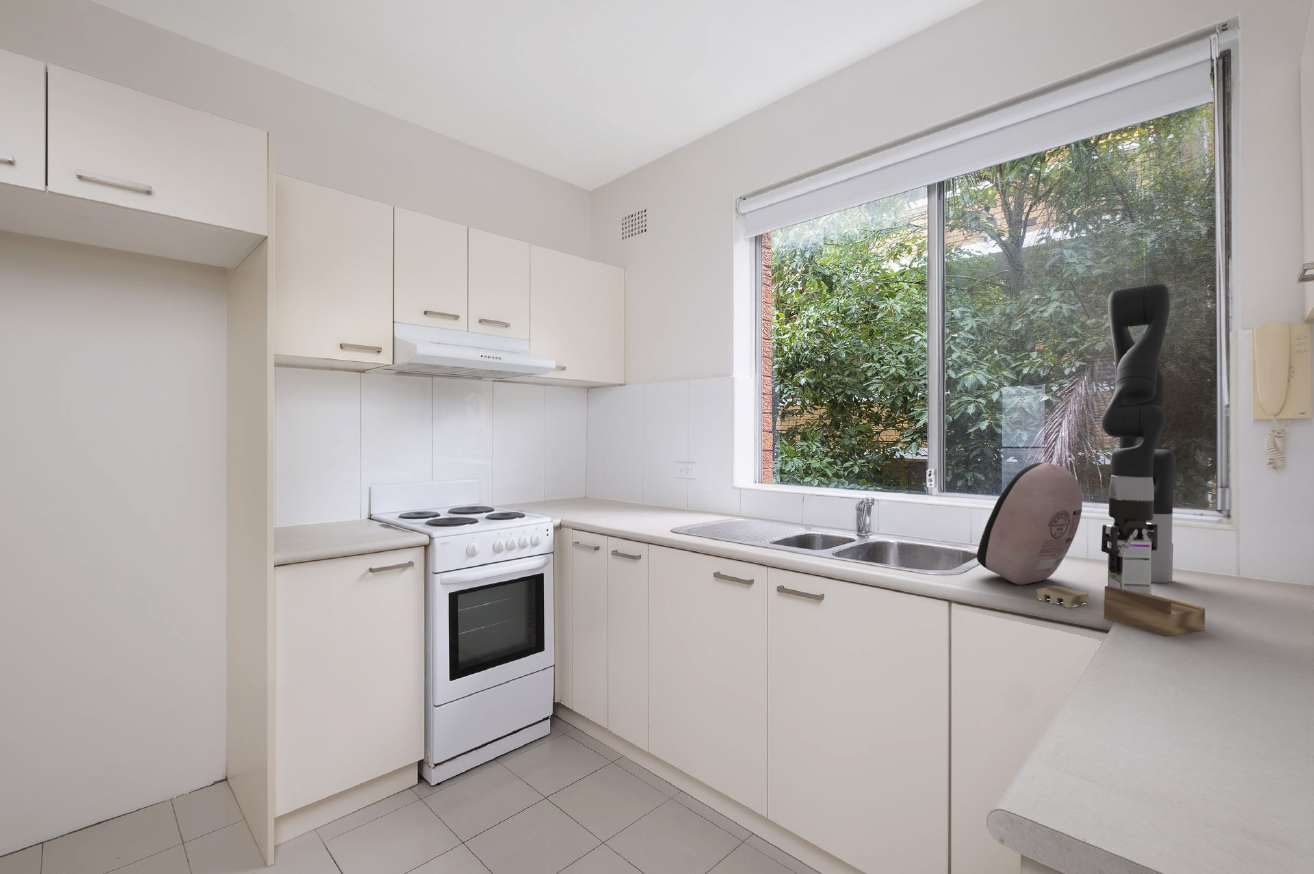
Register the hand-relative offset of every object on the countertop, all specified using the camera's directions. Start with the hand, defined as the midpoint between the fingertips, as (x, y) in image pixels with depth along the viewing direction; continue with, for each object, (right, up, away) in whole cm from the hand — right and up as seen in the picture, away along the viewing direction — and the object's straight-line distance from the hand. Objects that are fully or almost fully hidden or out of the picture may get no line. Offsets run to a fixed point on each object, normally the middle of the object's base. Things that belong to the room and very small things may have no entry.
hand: (1128, 571), depth 127 cm
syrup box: (0, -7, 0) cm, 7 cm away
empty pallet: (-13, -7, +2) cm, 15 cm away
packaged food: (-10, -7, +18) cm, 22 cm away
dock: (-5, -7, -12) cm, 15 cm away
